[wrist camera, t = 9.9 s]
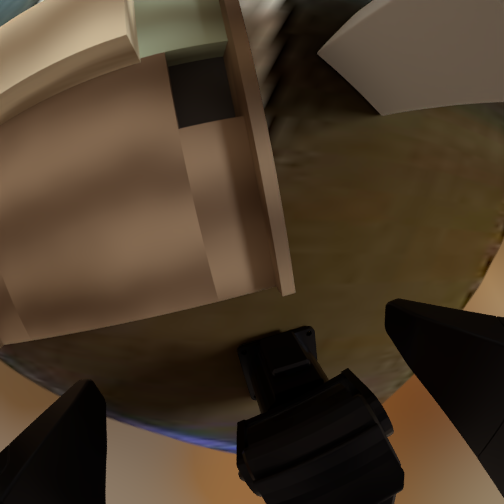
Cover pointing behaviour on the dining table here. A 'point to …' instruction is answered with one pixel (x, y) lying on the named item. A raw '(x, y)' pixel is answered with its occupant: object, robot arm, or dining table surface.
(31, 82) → the cream rectangular block
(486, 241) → the dining table surface
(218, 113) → the open tray box
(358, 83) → the milk carton
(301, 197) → the dining table surface
